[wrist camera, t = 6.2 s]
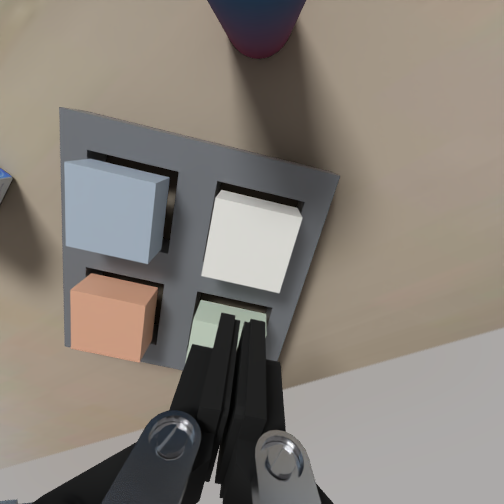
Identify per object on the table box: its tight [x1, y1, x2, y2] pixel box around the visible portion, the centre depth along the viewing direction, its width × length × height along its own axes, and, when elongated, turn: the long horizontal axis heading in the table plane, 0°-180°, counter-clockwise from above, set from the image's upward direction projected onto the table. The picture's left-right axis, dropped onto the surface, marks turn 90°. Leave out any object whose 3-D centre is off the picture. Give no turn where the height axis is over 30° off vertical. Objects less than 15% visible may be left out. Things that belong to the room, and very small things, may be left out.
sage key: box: [185, 300, 266, 363], centre depth 25 cm, size 6×6×3 cm
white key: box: [201, 190, 302, 293], centre depth 22 cm, size 6×6×3 cm
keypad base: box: [59, 107, 340, 370], centre depth 26 cm, size 21×22×3 cm
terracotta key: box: [70, 273, 158, 362], centre depth 25 cm, size 6×6×3 cm
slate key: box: [64, 159, 170, 264], centre depth 21 cm, size 6×6×3 cm
